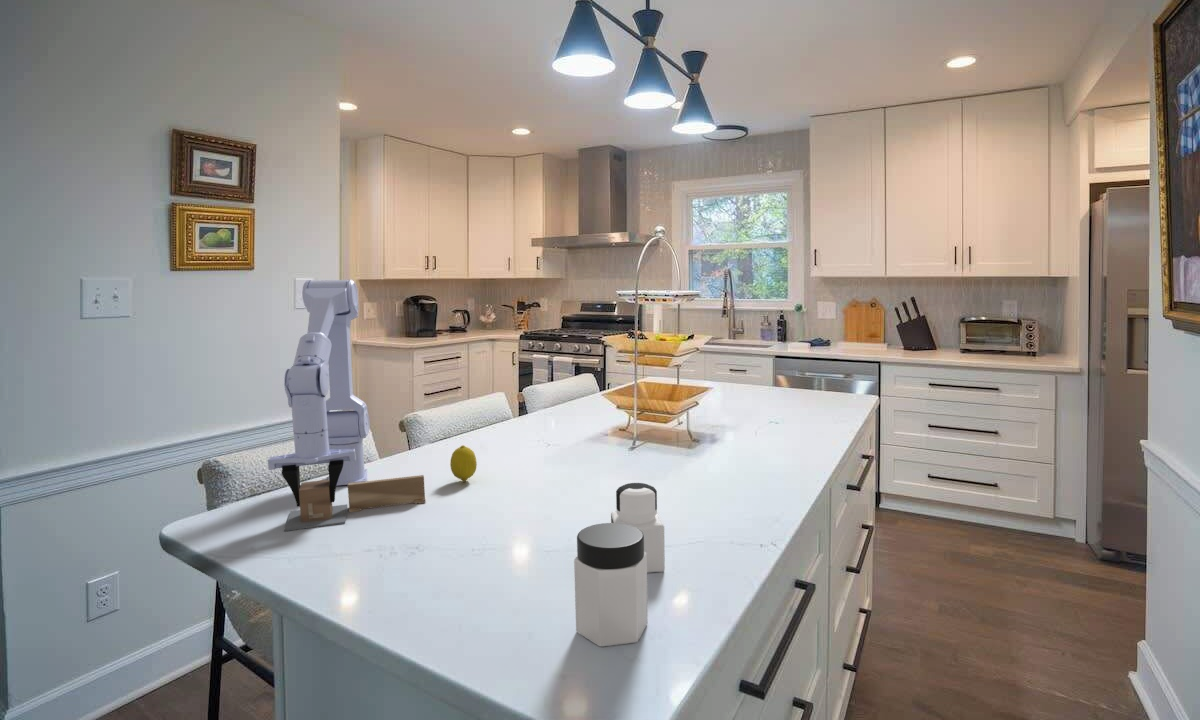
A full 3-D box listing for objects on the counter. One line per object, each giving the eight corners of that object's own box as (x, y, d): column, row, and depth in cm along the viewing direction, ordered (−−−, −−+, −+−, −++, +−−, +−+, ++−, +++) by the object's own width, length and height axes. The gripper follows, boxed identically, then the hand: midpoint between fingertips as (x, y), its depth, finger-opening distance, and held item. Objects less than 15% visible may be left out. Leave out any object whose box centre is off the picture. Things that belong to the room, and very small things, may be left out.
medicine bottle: (611, 555, 101) (610, 480, 100) (656, 552, 102) (656, 478, 100) (616, 575, 94) (615, 495, 93) (665, 572, 95) (664, 493, 93)
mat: (290, 512, 123) (290, 511, 123) (347, 505, 126) (347, 504, 126) (284, 531, 114) (283, 529, 114) (345, 523, 117) (345, 521, 117)
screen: (349, 507, 126) (348, 482, 125) (424, 497, 130) (423, 473, 130) (349, 512, 123) (347, 486, 122) (425, 502, 127) (424, 477, 127)
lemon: (471, 486, 137) (469, 449, 136) (447, 484, 138) (445, 448, 138) (481, 478, 143) (479, 442, 142) (457, 477, 144) (456, 442, 143)
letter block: (303, 513, 122) (301, 482, 121) (332, 510, 123) (330, 479, 123) (301, 523, 117) (298, 490, 116) (331, 519, 118) (328, 487, 118)
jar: (639, 608, 85) (638, 519, 83) (656, 641, 77) (655, 544, 75) (571, 615, 83) (568, 525, 82) (581, 650, 75) (578, 551, 74)
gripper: (263, 439, 112) (269, 515, 114) (352, 431, 117) (357, 504, 118) (269, 430, 119) (275, 502, 120) (353, 423, 123) (358, 492, 125)
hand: (316, 502), depth 120 cm, fingers closed on letter block, 5 cm apart
